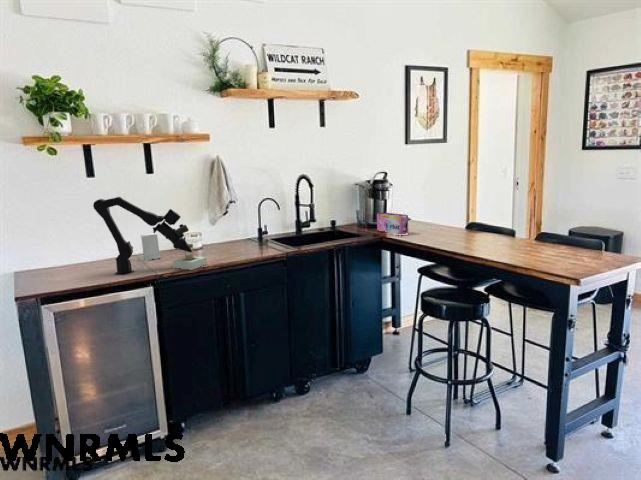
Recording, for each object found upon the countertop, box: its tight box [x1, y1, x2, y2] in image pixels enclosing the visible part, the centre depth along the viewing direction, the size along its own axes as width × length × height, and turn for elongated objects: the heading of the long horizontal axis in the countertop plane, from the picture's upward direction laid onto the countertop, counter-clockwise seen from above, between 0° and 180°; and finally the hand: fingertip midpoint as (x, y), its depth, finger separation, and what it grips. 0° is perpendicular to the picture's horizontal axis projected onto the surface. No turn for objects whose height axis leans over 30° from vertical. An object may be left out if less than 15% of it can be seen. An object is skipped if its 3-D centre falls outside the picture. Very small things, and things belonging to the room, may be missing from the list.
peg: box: [184, 243, 195, 261], centre depth 257 cm, size 4×4×10 cm
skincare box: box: [140, 232, 161, 261], centre depth 279 cm, size 8×6×15 cm
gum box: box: [376, 212, 409, 234], centre depth 330 cm, size 24×8×14 cm, turn 36°
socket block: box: [172, 256, 208, 271], centre depth 257 cm, size 12×12×4 cm
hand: (191, 250), depth 257 cm, fingers closed on peg, 4 cm apart
